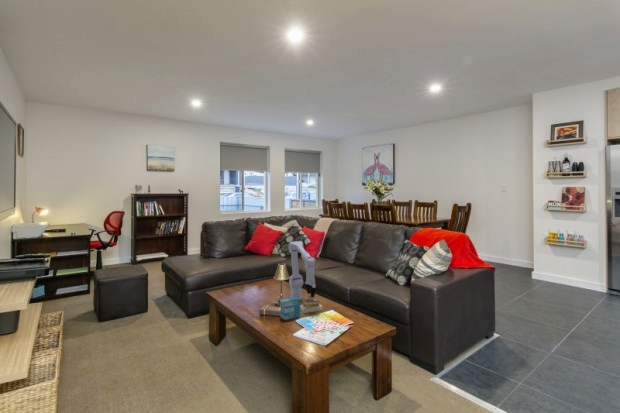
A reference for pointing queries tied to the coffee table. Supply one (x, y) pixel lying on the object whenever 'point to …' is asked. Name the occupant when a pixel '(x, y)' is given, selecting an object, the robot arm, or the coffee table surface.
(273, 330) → the coffee table surface
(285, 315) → the data package
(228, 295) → the coffee table surface
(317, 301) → the wooden box
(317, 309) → the dock
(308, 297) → the pink rounded cylinder
